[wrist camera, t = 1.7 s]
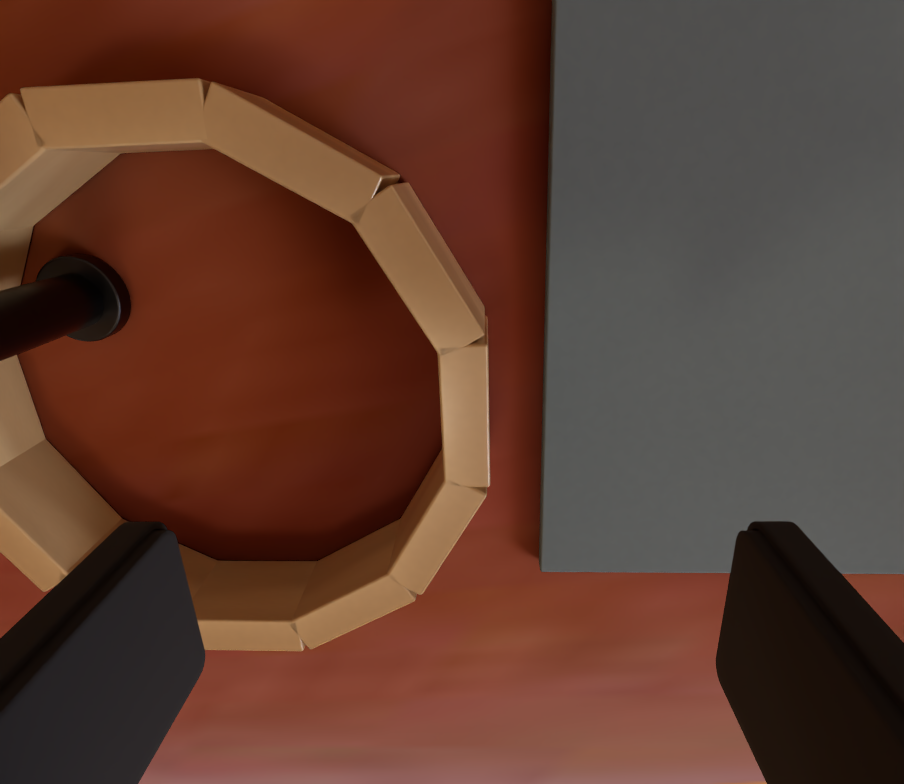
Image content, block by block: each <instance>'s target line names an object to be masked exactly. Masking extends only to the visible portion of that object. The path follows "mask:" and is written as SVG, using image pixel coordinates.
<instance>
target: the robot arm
mask: <svg viewBox="0 0 904 784" xmlns="http://www.w3.org/2000/svg"><path fill="white" fill-rule="evenodd" d="M204 662H205V649H204V645H203V641H202V637H201V633H200V629H199V625H198V621H197V617H196V613H195V609H194V605H193V601H192V597H191V593H190V589H189V585H188V581H187V577H186V573H185V569H184V566H183V562H182V558H181V554H180V550H179V546H178V542H177V538H176V535H175V534H174V533H173V531H170V530H167V527H166V526H165V525H164V524H163V523H161V522H125V523H123V524H121V525H120V526H119V527H118V528H117V529H115V530H114V531H113V532H112V533H111V534H110V535H109V536H108V537H107V538H106V539H105V540H104V541H103V542H102V543H101V544H100V545H99V546H98V547H96V548H95V549H94V550H93V551H92V552H91V553H90V554H89V555H88V556H87V557H86V558H85V559H84V560H83V561H82V562H81V563H80V564H79V565H77V566H76V567H75V568H74V569H73V570H72V571H71V572H70V573H69V574H68V575H67V576H66V577H65V578H64V579H63V580H62V581H61V582H60V583H58V584H57V585H56V586H55V587H54V588H53V589H52V590H51V591H50V592H49V593H48V594H47V595H46V596H45V597H44V598H43V599H42V600H41V601H39V602H38V603H37V604H36V605H35V606H34V607H33V608H32V609H31V610H30V611H29V612H28V613H27V614H26V615H25V616H24V617H23V618H22V619H21V620H19V621H18V622H17V623H16V624H15V625H14V626H13V627H12V628H11V629H10V630H9V631H8V632H7V633H6V634H5V635H4V636H3V637H2V638H0V784H138V783H139V781H140V779H141V778H142V776H143V774H144V772H145V771H146V769H147V767H148V765H149V764H150V762H151V760H152V758H153V757H154V755H155V753H156V751H157V750H158V748H159V746H160V744H161V743H162V741H163V739H164V737H165V736H166V734H167V732H168V730H169V729H170V727H171V725H172V723H173V722H174V720H175V718H176V717H177V715H178V713H179V711H180V710H181V708H182V706H183V704H184V703H185V701H186V699H187V697H188V696H189V694H190V692H191V690H192V689H193V687H194V685H195V683H196V682H197V680H198V678H199V676H200V674H201V672H202V670H203V667H204ZM716 669H717V675H718V678H719V681H720V684H721V686H722V688H723V690H724V693H725V695H726V697H727V699H728V701H729V703H730V705H731V708H732V710H733V712H734V714H735V716H736V718H737V720H738V723H739V725H740V727H741V729H742V731H743V733H744V735H745V738H746V740H747V742H748V744H749V746H750V748H751V750H752V752H753V755H754V757H755V759H756V761H757V763H758V765H759V767H760V770H761V772H762V774H763V776H764V778H765V780H766V782H767V784H904V643H903V642H902V641H901V640H900V638H899V637H898V636H897V635H896V634H895V633H894V632H893V631H892V630H891V628H890V627H889V626H888V625H887V624H886V623H885V622H884V621H883V620H882V619H881V617H880V616H879V615H878V614H877V613H876V612H875V611H874V610H873V609H872V607H871V606H870V605H869V604H868V603H867V602H866V601H865V600H864V599H863V598H862V596H861V595H860V594H859V593H858V592H857V591H856V590H855V589H854V588H853V586H852V585H851V584H850V583H849V582H848V581H847V580H846V579H845V578H844V577H843V575H842V574H841V573H840V572H839V571H838V570H837V569H836V568H835V567H834V565H833V564H832V563H831V562H830V561H829V560H828V559H827V558H826V557H825V555H824V554H823V553H822V552H821V551H820V550H819V549H818V548H817V547H816V546H815V544H814V543H813V542H812V541H811V540H810V539H809V538H808V537H807V536H806V534H805V533H804V532H803V531H802V530H801V529H800V528H799V527H798V526H797V525H796V524H795V523H793V522H790V521H754V522H752V523H750V525H749V526H748V529H747V531H740V532H739V533H738V535H737V538H736V543H735V549H734V555H733V561H732V567H731V572H730V578H729V584H728V590H727V596H726V602H725V608H724V614H723V620H722V626H721V631H720V637H719V643H718V649H717V655H716Z"/></svg>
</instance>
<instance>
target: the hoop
mask: <svg viewBox="0 0 904 784" xmlns="http://www.w3.org/2000/svg"><path fill="white" fill-rule="evenodd" d="M20 92H21V94H15V93H9V94H8V95H6V96H5V97H4V98H3V99H2V100H1V101H0V290H4V289H8V288H12V287H16V286H20V285H21V281H22V276H23V271H24V267H25V262H26V258H27V253H28V249H29V244H30V239H31V235H32V230H33V226H34V225H35V224H36V223H37V222H38V221H40V220H41V219H42V218H43V217H45V216H46V215H47V214H48V213H49V212H51V211H52V210H53V209H54V208H55V207H57V206H58V205H59V204H60V203H61V202H63V201H64V200H65V199H66V198H67V197H69V196H70V195H71V194H72V193H74V192H75V191H76V190H77V189H78V188H80V187H81V186H82V185H83V184H84V183H86V182H87V181H88V180H89V179H90V178H92V177H93V176H94V175H95V174H96V173H98V172H99V171H100V170H101V169H102V168H104V167H105V166H106V165H107V164H109V163H110V162H111V161H112V160H113V159H115V158H116V157H117V156H118V155H119V154H121V153H138V152H160V151H182V150H204V149H215V150H217V151H219V152H221V153H223V154H224V155H226V156H228V157H230V158H232V159H234V160H235V161H237V162H239V163H241V164H243V165H245V166H247V167H248V168H250V169H252V170H254V171H256V172H258V173H260V174H261V175H263V176H265V177H267V178H269V179H271V180H272V181H274V182H276V183H278V184H280V185H282V186H284V187H285V188H287V189H289V190H291V191H293V192H295V193H297V194H298V195H300V196H302V197H304V198H306V199H308V200H309V201H311V202H313V203H315V204H317V205H319V206H321V207H322V208H324V209H326V210H328V211H330V212H332V213H334V214H335V215H337V216H339V217H341V218H343V219H345V220H347V221H348V222H350V223H352V224H353V226H354V227H355V229H356V230H357V232H358V234H359V235H360V237H361V238H362V240H363V241H364V243H365V244H366V246H367V247H368V249H369V250H370V252H371V253H372V255H373V256H374V258H375V259H376V261H377V262H378V264H379V265H380V267H381V268H382V270H383V271H384V273H385V274H386V276H387V277H388V279H389V280H390V282H391V283H392V285H393V286H394V288H395V290H396V291H397V293H398V294H399V296H400V297H401V299H402V300H403V302H404V303H405V305H406V306H407V308H408V309H409V311H410V312H411V314H412V315H413V317H414V318H415V320H416V321H417V323H418V324H419V326H420V327H421V329H422V330H423V332H424V333H425V335H426V336H427V338H428V339H429V341H430V342H431V344H432V345H433V347H434V349H435V350H436V352H437V354H438V374H439V394H440V414H441V434H442V449H441V451H440V453H439V454H438V456H437V458H436V460H435V461H434V463H433V465H432V466H431V468H430V470H429V471H428V473H427V475H426V476H425V478H424V480H423V481H422V483H421V485H420V487H419V488H418V490H417V492H416V493H415V495H414V497H413V498H412V500H411V502H410V503H409V505H408V507H407V509H406V510H405V512H404V514H403V515H402V517H401V518H400V519H399V520H397V521H395V522H393V523H391V524H389V525H387V526H385V527H383V528H381V529H379V530H377V531H375V532H373V533H371V534H369V535H367V536H365V537H363V538H362V539H360V540H358V541H356V542H354V543H352V544H350V545H348V546H346V547H344V548H342V549H340V550H338V551H336V552H334V553H332V554H330V555H328V556H326V557H325V558H323V559H321V560H319V561H217V560H215V559H213V558H210V557H208V556H206V555H204V554H201V553H199V552H197V551H194V550H192V549H190V548H188V547H185V546H183V545H181V544H179V543H178V546H179V550H180V554H181V558H182V562H183V566H184V569H185V573H186V577H187V581H188V585H189V589H190V593H191V597H192V601H193V605H194V609H195V613H196V617H197V621H198V625H199V629H200V633H201V637H202V641H203V645H204V649H205V650H256V651H303V650H304V647H305V644H306V645H307V647H308V648H309V649H313V648H315V647H317V646H319V645H322V644H324V643H326V642H328V641H330V640H332V639H334V638H337V637H339V636H341V635H343V634H345V633H347V632H349V631H352V630H354V629H356V628H358V627H360V626H362V625H364V624H367V623H369V622H371V621H373V620H375V619H377V618H379V617H382V616H384V615H386V614H388V613H390V612H392V611H394V610H397V609H399V608H401V607H403V606H405V605H407V604H409V603H412V602H414V601H415V600H416V595H417V594H419V595H421V594H423V592H424V591H425V589H426V588H427V586H428V585H429V583H430V582H431V580H432V579H433V577H434V576H435V574H436V573H437V571H438V569H439V568H440V566H441V565H442V563H443V562H444V560H445V559H446V557H447V556H448V554H449V553H450V551H451V550H452V548H453V547H454V545H455V543H456V542H457V540H458V539H459V537H460V536H461V534H462V533H463V531H464V530H465V528H466V527H467V525H468V524H469V522H470V520H471V519H472V517H473V516H474V514H475V513H476V511H477V510H478V508H479V507H480V505H481V504H482V502H483V501H484V499H485V498H486V496H487V487H489V485H490V437H489V371H488V318H487V316H485V307H484V305H483V303H482V302H481V300H480V298H479V297H478V295H477V293H476V292H475V290H474V289H473V287H472V285H471V284H470V282H469V280H468V279H467V277H466V275H465V274H464V272H463V271H462V269H461V267H460V266H459V264H458V262H457V261H456V259H455V258H454V256H453V254H452V253H451V251H450V249H449V248H448V246H447V245H446V243H445V241H444V240H443V238H442V236H441V235H440V233H439V231H438V230H437V228H436V227H435V225H434V223H433V222H432V220H431V218H430V217H429V215H428V214H427V212H426V210H425V209H424V207H423V205H422V204H421V202H420V200H419V199H418V197H417V196H416V194H415V192H414V191H413V189H412V187H411V186H410V184H409V183H408V182H405V183H399V184H397V183H398V181H399V178H400V174H399V173H397V172H395V171H393V170H392V169H390V168H388V167H386V166H384V165H383V164H381V163H379V162H377V161H376V160H374V159H372V158H370V157H368V156H367V155H365V154H363V153H361V152H359V151H358V150H356V149H354V148H352V147H351V146H349V145H347V144H345V143H343V142H342V141H340V140H338V139H336V138H334V137H333V136H331V135H329V134H327V133H326V132H324V131H322V130H320V129H318V128H317V127H315V126H313V125H311V124H309V123H308V122H306V121H304V120H302V119H300V118H299V117H297V116H295V115H293V114H292V113H290V112H288V111H286V110H284V109H283V108H281V107H279V106H277V105H275V104H274V103H272V102H270V101H268V100H267V99H265V98H263V97H260V96H257V95H254V94H251V93H248V92H244V91H241V90H238V89H235V88H232V87H229V86H226V85H223V84H220V83H216V82H209V81H206V80H203V79H200V78H187V79H168V80H150V81H131V82H113V83H94V84H75V85H57V86H38V87H23V88H21V89H20ZM125 522H129V521H126V520H124V519H122V518H121V517H120V516H119V515H118V514H117V513H116V512H115V510H114V509H113V508H112V507H111V506H110V505H109V504H108V503H107V502H106V501H105V500H104V499H103V498H102V497H101V496H100V495H99V494H98V493H97V492H96V491H95V490H94V489H93V488H92V487H91V485H90V484H89V483H88V482H87V481H86V480H85V479H84V478H83V477H82V476H81V475H80V474H79V473H78V472H77V471H76V470H75V469H74V468H73V467H72V466H71V465H70V464H69V463H68V461H67V460H66V459H65V458H64V457H63V456H62V455H61V454H60V453H59V452H58V451H57V450H56V449H55V448H54V447H53V446H52V445H51V444H50V443H49V442H48V441H47V440H46V438H45V435H44V432H43V430H42V427H41V424H40V421H39V418H38V415H37V412H36V409H35V406H34V403H33V400H32V397H31V394H30V392H29V389H28V386H27V383H26V380H25V377H24V374H23V371H22V368H21V365H20V362H19V359H18V357H17V355H15V356H12V357H10V358H7V359H5V360H2V361H0V552H1V553H2V554H3V555H4V556H5V557H6V558H7V559H8V560H10V561H11V562H12V563H13V564H14V565H15V566H16V567H17V568H18V569H19V570H20V571H21V572H22V573H23V574H25V575H26V576H27V577H28V578H29V579H30V580H31V581H32V582H33V583H34V584H35V585H36V586H37V587H38V588H40V589H41V590H42V591H43V592H45V591H47V590H49V589H51V588H52V587H54V586H56V585H57V584H58V583H60V582H61V581H62V580H63V579H64V578H65V577H66V576H67V575H68V574H69V573H70V572H71V571H72V570H73V569H74V568H75V567H76V566H77V565H79V564H80V563H81V562H82V561H83V560H84V559H85V558H86V557H87V556H88V555H89V554H90V553H91V552H92V551H93V550H94V549H95V548H96V547H98V546H99V545H100V544H101V543H102V542H103V541H104V540H105V539H106V538H107V537H108V536H109V535H110V534H111V533H112V532H113V531H114V530H115V529H117V528H118V527H119V526H120V525H121V524H123V523H125Z"/></svg>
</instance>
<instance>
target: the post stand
mask: <svg viewBox="0 0 904 784" xmlns="http://www.w3.org/2000/svg"><path fill="white" fill-rule="evenodd" d="M130 309H131V302H130V296H129V293H128V290H127V287H126V285H125V283H124V282H123V280H122V278H121V277H120V276H119V274H118V273H117V272H116V271H115V270H114V269H113V268H112V267H111V266H109V265H108V264H106V263H105V262H103V261H102V260H100V259H98V258H95V257H93V256H89V255H85V254H71V255H66V256H61V257H57V258H54V259H52V260H50V261H49V262H47V263H46V264H45V265H44V266H43V267H42V269H41V270H40V271H39V273H38V275H37V279H36V282H32V283H28V284H24V285H20V286H16V287H12V288H8V289H4V290H0V361H2V360H5V359H7V358H10V357H12V356H15V355H17V354H20V353H22V352H25V351H27V350H30V349H33V348H35V347H38V346H40V345H43V344H45V343H48V342H50V341H53V340H55V339H58V338H60V337H63V336H65V335H67V336H69V337H71V338H73V339H77V340H81V341H98V340H102V339H104V338H106V337H109V336H111V335H113V334H115V333H117V332H118V331H120V330H121V329H122V328H123V327H124V325H125V324H126V322H127V320H128V318H129V315H130Z"/></svg>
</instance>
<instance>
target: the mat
mask: <svg viewBox="0 0 904 784" xmlns="http://www.w3.org/2000/svg"><path fill="white" fill-rule="evenodd" d="M754 521H790V522H793V523H795V524H796V525H797V526H798V527H799V528H800V529H801V530H802V531H803V532H804V533H805V534H806V536H807V537H808V538H809V539H810V540H811V541H812V542H813V543H814V544H815V546H816V547H817V548H818V549H819V550H820V551H821V552H822V553H823V554H824V555H825V557H826V558H827V559H828V560H829V561H830V562H831V563H832V564H833V565H834V567H835V568H836V569H837V570H838V571H839V572H840V573H841V574H904V0H552V24H551V66H550V109H549V152H548V195H547V238H546V280H545V323H544V366H543V409H542V452H541V494H540V537H539V565H540V570H541V571H542V572H667V573H730V572H731V567H732V561H733V555H734V549H735V543H736V538H737V535H738V533H739V532H740V531H747V529H748V526H749V525H750V523H752V522H754Z"/></svg>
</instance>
